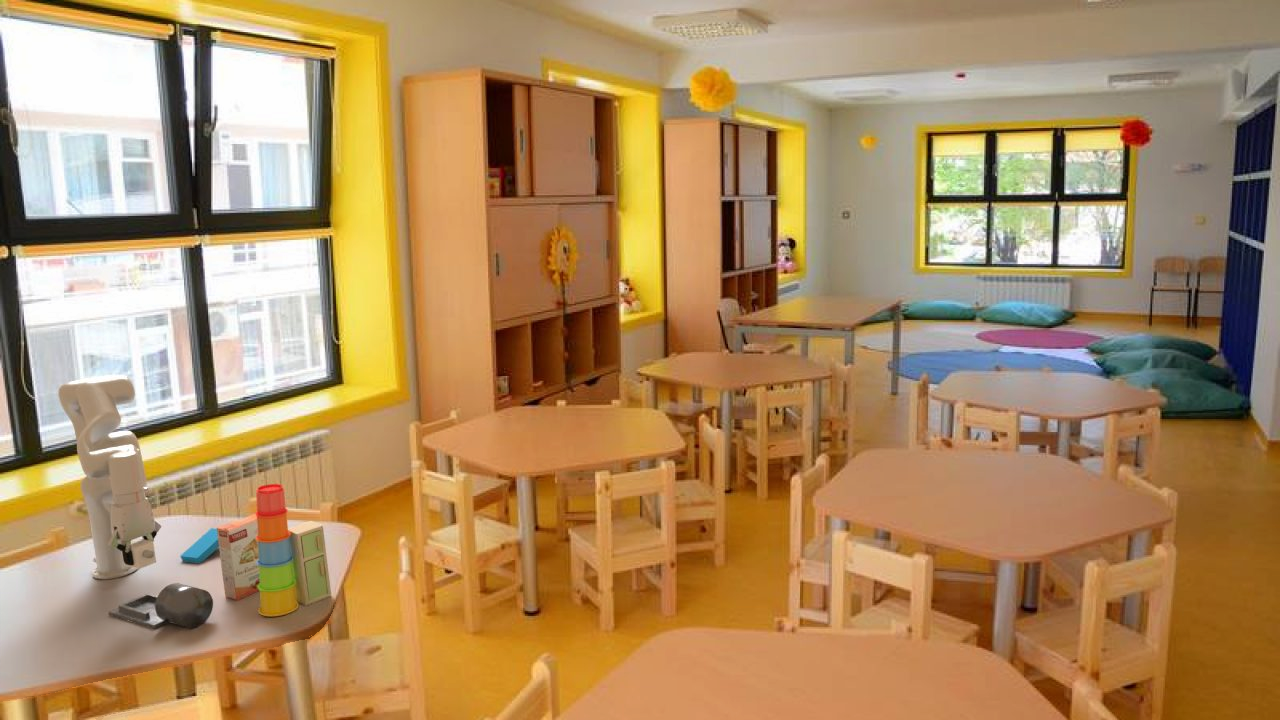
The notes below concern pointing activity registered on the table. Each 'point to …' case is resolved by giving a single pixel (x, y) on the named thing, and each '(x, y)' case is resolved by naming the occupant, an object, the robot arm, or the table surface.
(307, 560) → the toy refrigerator
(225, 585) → the cracker box
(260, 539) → the stacking cups
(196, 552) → the blue ramp
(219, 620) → the table surface
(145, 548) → the block
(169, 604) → the electric bell
